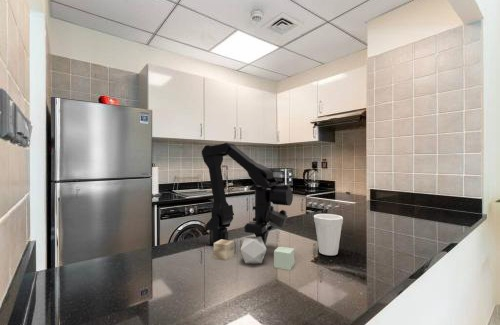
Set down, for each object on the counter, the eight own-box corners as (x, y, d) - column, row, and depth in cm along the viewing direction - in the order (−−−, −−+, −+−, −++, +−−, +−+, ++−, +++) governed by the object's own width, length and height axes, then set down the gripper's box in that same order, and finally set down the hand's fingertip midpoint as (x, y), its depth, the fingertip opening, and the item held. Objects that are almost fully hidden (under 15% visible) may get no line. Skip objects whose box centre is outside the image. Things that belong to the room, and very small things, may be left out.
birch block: (213, 258, 82) (213, 243, 82) (221, 253, 86) (221, 239, 87) (226, 260, 80) (226, 245, 80) (233, 255, 84) (233, 241, 85)
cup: (344, 251, 89) (344, 215, 89) (342, 260, 80) (341, 220, 80) (316, 247, 93) (316, 212, 93) (311, 255, 84) (311, 217, 84)
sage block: (273, 267, 74) (273, 251, 74) (279, 262, 79) (279, 246, 79) (290, 270, 72) (290, 253, 72) (294, 264, 77) (294, 248, 77)
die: (257, 271, 73) (273, 242, 76) (233, 255, 74) (249, 227, 77) (256, 270, 80) (271, 244, 83) (234, 256, 82) (249, 230, 85)
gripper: (276, 208, 75) (276, 260, 75) (291, 201, 92) (292, 243, 92) (243, 206, 79) (243, 254, 79) (264, 199, 96) (264, 239, 96)
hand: (262, 247), depth 86 cm, fingers closed
